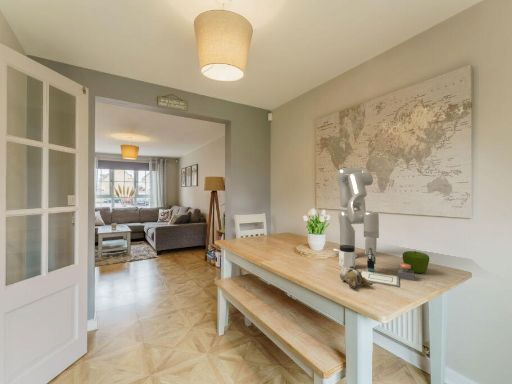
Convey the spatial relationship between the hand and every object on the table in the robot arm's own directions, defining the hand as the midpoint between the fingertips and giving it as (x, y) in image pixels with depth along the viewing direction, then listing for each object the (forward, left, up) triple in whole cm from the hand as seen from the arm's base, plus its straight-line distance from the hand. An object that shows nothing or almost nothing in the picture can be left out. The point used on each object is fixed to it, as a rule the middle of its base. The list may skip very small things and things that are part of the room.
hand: (371, 265), depth 131 cm
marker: (0, 0, -3) cm, 3 cm away
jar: (-13, +3, -4) cm, 14 cm away
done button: (+16, -1, -1) cm, 16 cm away
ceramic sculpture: (-6, -24, -4) cm, 25 cm away
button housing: (+16, -1, -3) cm, 16 cm away
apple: (+21, +13, -4) cm, 25 cm away
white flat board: (+4, -10, -3) cm, 11 cm away
